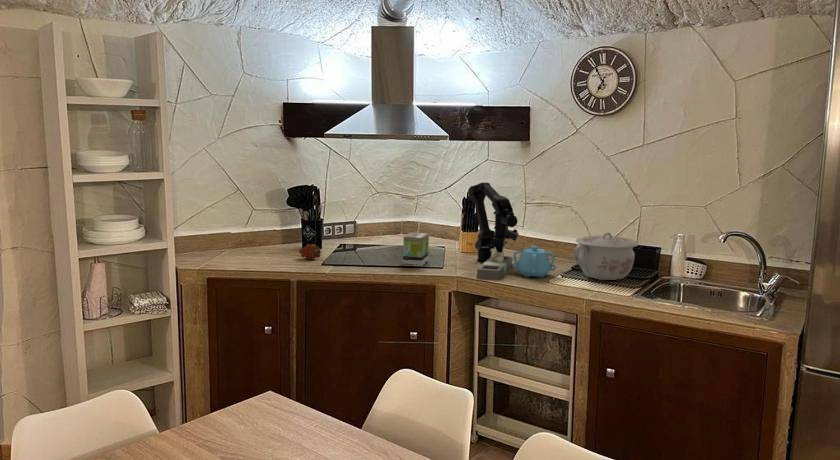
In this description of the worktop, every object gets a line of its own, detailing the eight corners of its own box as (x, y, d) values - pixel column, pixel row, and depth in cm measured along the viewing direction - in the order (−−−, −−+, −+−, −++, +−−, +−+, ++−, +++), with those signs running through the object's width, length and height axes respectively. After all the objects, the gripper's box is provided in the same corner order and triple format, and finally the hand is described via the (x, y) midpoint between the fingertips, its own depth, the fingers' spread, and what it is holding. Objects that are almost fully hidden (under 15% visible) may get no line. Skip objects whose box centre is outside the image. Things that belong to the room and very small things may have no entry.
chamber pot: (634, 273, 311) (636, 229, 308) (639, 286, 285) (642, 239, 282) (572, 269, 317) (574, 226, 314) (572, 282, 291) (574, 236, 288)
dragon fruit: (321, 263, 333) (300, 265, 338) (326, 251, 339) (306, 253, 344) (314, 251, 328) (293, 253, 333) (319, 239, 334) (299, 241, 338)
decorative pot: (559, 277, 302) (560, 247, 299) (530, 280, 294) (531, 250, 292) (536, 270, 316) (537, 242, 314) (508, 273, 308) (509, 244, 306)
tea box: (422, 268, 318) (423, 237, 316) (402, 266, 320) (402, 236, 318) (428, 261, 333) (429, 232, 331) (409, 260, 335) (409, 231, 333)
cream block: (491, 261, 314) (491, 253, 314) (493, 259, 319) (493, 251, 318) (501, 262, 313) (501, 254, 312) (503, 260, 318) (503, 252, 317)
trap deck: (476, 277, 298) (477, 269, 298) (492, 263, 330) (492, 255, 330) (499, 279, 295) (499, 270, 295) (512, 264, 327) (512, 256, 327)
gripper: (514, 228, 308) (513, 261, 311) (520, 222, 326) (519, 253, 328) (490, 226, 312) (490, 259, 314) (498, 221, 329) (497, 252, 332)
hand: (500, 256), depth 322 cm, fingers closed
